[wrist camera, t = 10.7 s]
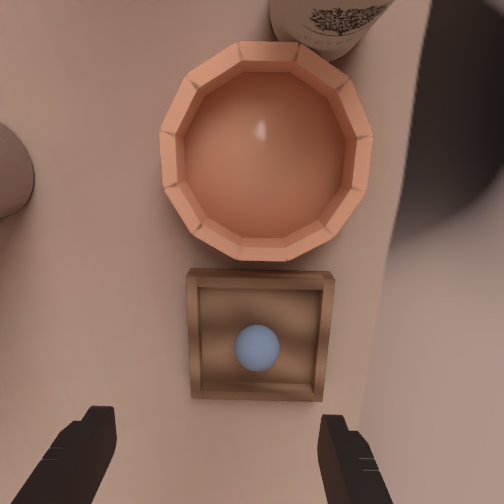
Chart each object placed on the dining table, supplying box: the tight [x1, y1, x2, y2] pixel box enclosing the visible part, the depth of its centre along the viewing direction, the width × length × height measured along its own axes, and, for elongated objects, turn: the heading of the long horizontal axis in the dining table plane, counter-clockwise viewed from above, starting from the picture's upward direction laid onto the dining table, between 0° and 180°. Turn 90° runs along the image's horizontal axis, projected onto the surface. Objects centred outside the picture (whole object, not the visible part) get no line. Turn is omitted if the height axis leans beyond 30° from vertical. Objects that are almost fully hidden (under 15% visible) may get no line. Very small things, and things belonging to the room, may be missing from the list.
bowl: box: [159, 41, 373, 261], centre depth 26 cm, size 16×16×4 cm
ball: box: [235, 325, 279, 372], centre depth 31 cm, size 4×4×4 cm
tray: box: [186, 268, 335, 402], centre depth 32 cm, size 14×14×2 cm
